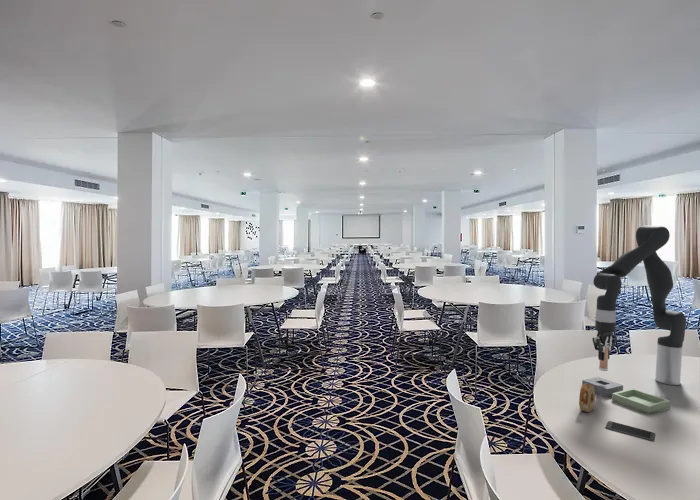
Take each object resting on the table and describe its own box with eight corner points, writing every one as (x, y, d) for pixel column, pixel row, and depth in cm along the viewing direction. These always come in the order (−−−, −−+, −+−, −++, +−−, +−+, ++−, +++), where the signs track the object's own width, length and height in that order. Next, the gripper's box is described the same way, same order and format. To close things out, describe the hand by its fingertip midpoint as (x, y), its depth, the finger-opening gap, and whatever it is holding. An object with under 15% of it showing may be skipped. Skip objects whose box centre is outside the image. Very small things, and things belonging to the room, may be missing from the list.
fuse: (602, 368, 183) (603, 343, 182) (609, 370, 180) (610, 345, 179) (597, 369, 181) (598, 344, 181) (604, 371, 178) (605, 346, 178)
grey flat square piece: (597, 384, 188) (598, 376, 188) (622, 393, 178) (623, 385, 178) (581, 388, 183) (582, 380, 183) (606, 397, 174) (607, 389, 173)
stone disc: (587, 416, 155) (589, 389, 154) (576, 412, 158) (578, 386, 157) (596, 408, 162) (597, 383, 162) (585, 405, 165) (587, 380, 164)
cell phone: (608, 422, 151) (608, 420, 151) (655, 434, 142) (655, 432, 142) (604, 429, 145) (604, 427, 145) (654, 443, 137) (654, 440, 137)
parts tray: (632, 395, 176) (632, 388, 176) (669, 408, 164) (670, 400, 164) (611, 400, 170) (612, 393, 170) (649, 414, 158) (649, 406, 158)
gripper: (607, 316, 186) (605, 355, 187) (586, 319, 180) (585, 359, 181) (624, 320, 179) (622, 359, 180) (604, 323, 173) (602, 364, 174)
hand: (603, 359), depth 180 cm, fingers closed on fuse, 3 cm apart
